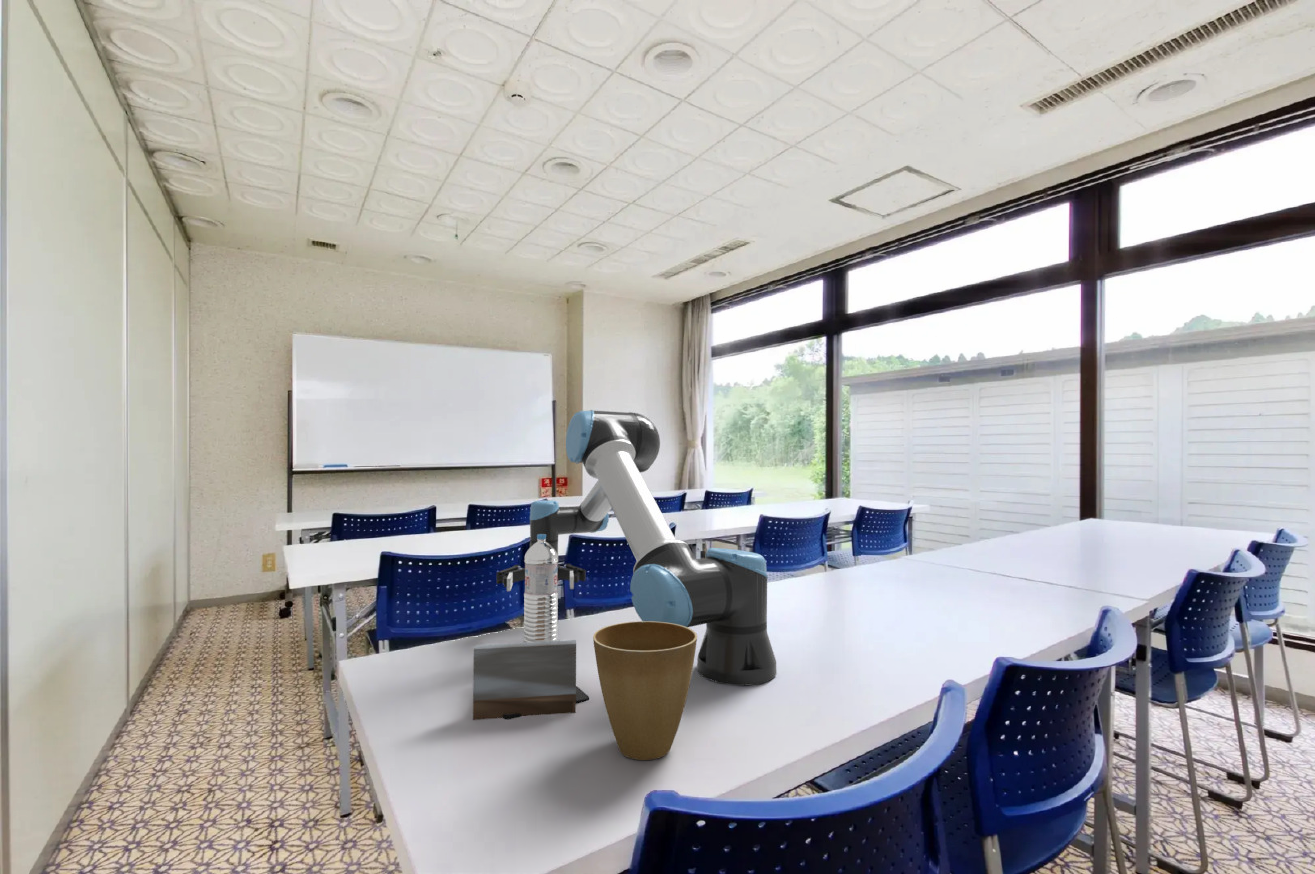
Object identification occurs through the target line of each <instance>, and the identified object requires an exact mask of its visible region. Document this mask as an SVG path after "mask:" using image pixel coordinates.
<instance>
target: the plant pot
mask: <svg viewBox="0 0 1315 874" xmlns="http://www.w3.org/2000/svg"><path fill="white" fill-rule="evenodd" d="M592 639H593V641H592V642H593V648H594V656H595V661H596V663H595V664H596V668H597V673H598V674H597V675H598V681H599V686H600V690H601V694H602V698H603V703H604V707H605V711H606V713H607V718H608V720H609V721H608V722H609V724H610V727H611V729H612V732H613V736H614V739H615V742H616V744H617V747H618V750H619V751H620V753H621V754H622V755H623V756H625V757H627V758H629V759H633V760H638V761H651V760H657V759H661V758H663V757H664V756H666V755H667V754H668V753H670V751H671V749H672V746H673V744H674V741H675V738H676V736H677V732H678V729H679V727H680V723H681V721H682V720H681V719H682V717H683V712H684V709H685V706H686V702H687V698H688V695H689V694H688V693H689V690H690V689H689V688H690V684H691V680H692V673H693V669H694V668H693V667H694V662H695V655H696V649H697V641H698V635H697V633H696V632H695V631H694V630H693V629H692V628H691V627H685V626H681V625H677V624H673V623H666V622H654V621H642V620H641V621H638V620H637V621H627V622H619V623H616V624H615V623H614V624H611V625H607V626H604V627H601V628H600V629H598V630H596V631H595V633H594V634H593V636H592Z"/></svg>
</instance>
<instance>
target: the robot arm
mask: <svg viewBox="0 0 1315 874" xmlns="http://www.w3.org/2000/svg"><path fill="white" fill-rule="evenodd" d="M660 447H661V439H660V434H659V431H658V429H657V426H656V425H655V424H654V422H652V421H651V419H649V418H648V417H647V416H645V415H644V414H640V413H638V412H630V411H629V412H626V411H625V412H624V411H623V412H622V411H608V410H607V411H605V410H594V409H590V410H580V411H577V412H576V413H574V414H573V415H572V417H571V419H570V421H569V423H568V426H567V431H566V436H565V452H566V456H567V459H568V460H569V461H570V462H571V463H575V464H577V465H578V464H580V463H581V464H582V465H583V466H584V469H585V471H586V472H587V474H588V475H589V476H590V477H591V478H594V479H597V481H596V483H594V485H593V487H592V488H591V489H590V491H589V493H588V494H587V495H586V496H585V498H584V500H583V501H582V502H581V503H580V505H577V506H576V505H575V506H560V505H559V502H558V501H557V500H551V499H550V500H549V499H547V500H545V499H544V500H534V501H533V502H532V503H531V504H530V510H529V511H530V514H529V530H530V531H529V538H530V539H529V548H530V547H531V546H532V545H534V544H535V543H536V542H538V540H537V535H538V534H546V540H545V541H546V542H547V543H549V544H550V545H551V546H552V547H553V548H554V549H555V550H556V552H557V554H558V555H559V536H560V535H570V534H571V535H572V534H585V533H591V534H592V533H593V534H594V533H596V532H603V531H605V530H606V529H607V527H608V525H609V524H608V523H609V521H610V519H609V516H610V515H609V512H610V511H611V510H612V512H613V514H614V516H615V519H616V520H617V522H618V525H619V526H620V529H621V531H622V532H623V533H622V534H623V535H624V537H625V539H626V541H627V544H628V545H629V548H630V549H631V552H632V554H633V556H634V558H635V560H636V562H635V564H634V566H633V569H632V570H633V571H632V573H633V574H632V577H631V580H630V587H629V588H630V592H631V594H632V596H631V602H632V605H633V608H634V610H635V612H636V614H637V615H638V617H639V619H640V620H641V621H654V622H666V623H673V624H677V625H681V626H685V627H687V628H691V627H695V626H701V625H706V626H705V627H706V629H705V633H704V635H703V639H702V640H701V641H702V642H701V645H700V649H699V651H698V654H697V659H696V660H697V661H696V665H697V667H696V669H697V671H698V674H699V675H700V676H702V677H704V678H705V679H707V680H710V681H712V682H716V683H720V684H724V685H731V686H733V685H734V686H753V685H759V684H764V683H767V682H770V681H771V680H773V679H774V678H775V677H776V675H777V659H776V656H775V653H774V650H773V646H772V644H771V640H770V637H769V635H768V625H767V624H768V578H769V577H768V573H767V561H766V558H764V556H763V555H761V554H759V553H757V552H752V551H747V550H742V549H741V550H740V549H733V548H732V549H730V548H721V547H710V548H708V549H707V550H706V552H705V556H704V557H705V558H696V557H695V555H694V553H693V551H692V550H691V548H690V546H689V544H688V543H687V542H685V541H681V540H677V538H676V537H675V535H674V533H673V531H672V530H671V528H670V526H669V523H668V522H667V520H666V518H665V517H664V515H663V513H662V511H661V509H660V507H659V505H658V503H657V501H656V500H655V498H654V496H653V494H652V493H651V491H650V489H649V487H648V485H647V483H646V481H645V480H644V477H643V476H642V474H641V473H645V472H647V471H648V470H649V469H650V468H651V467H652V465H653V464H654V462H655V461H656V459H657V458H658V455H659V452H660ZM586 578H587V577H586V569H583V568H581V567H578V566H574V565H572V564H571V563H566V564H564V566H563V567H562V566H561V565H560V564H559V561H558V562H557V580H564V581H569V589H570V590H574V589H575V584H577V583H579V581H581V582H585V581H586ZM522 581H525V566H524V567H521V566H520V565H519V564H514V565H513V566H512V567H511V566H510V567H508V568H505V569H502V570H500V571H497V572H496V584H497V585H500V584H502V585H503V586H504V588H506V592H511V591H512V588H513V584H514V583H517V582H522Z"/></svg>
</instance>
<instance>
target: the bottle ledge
mask: <svg viewBox="0 0 1315 874" xmlns="http://www.w3.org/2000/svg"><path fill="white" fill-rule="evenodd" d="M472 666H473V670H472V671H473V675H472V677H473V679H472V680H473V682H472V689H473V691H472V721H477V720H479V721H480V720H491V719H494V720H495V719H503V717H502V716H503V714H517V713H520V714H521V715H522V716H523V717H534V716H546V715H559V714H560V715H561V714H563V715H564V714H575V713H576V712H577V704H576V686H577V640H576V639H570V640H568V639H567V640H557V641H546V642H527V643H524V642H510V643H492V644H490V643H489V644H475V645H474V647H473V665H472ZM522 716H521V717H520V718H522Z"/></svg>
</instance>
